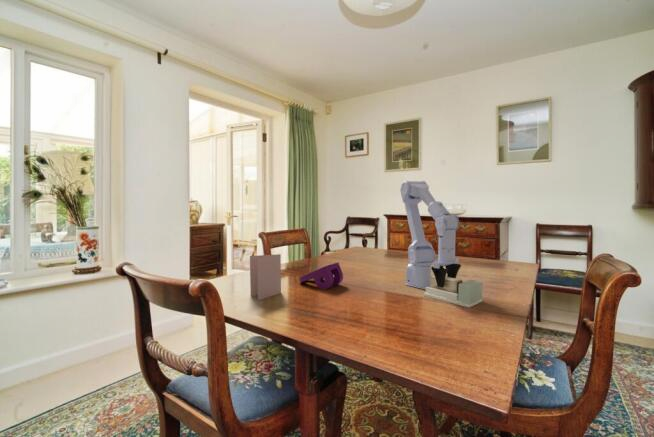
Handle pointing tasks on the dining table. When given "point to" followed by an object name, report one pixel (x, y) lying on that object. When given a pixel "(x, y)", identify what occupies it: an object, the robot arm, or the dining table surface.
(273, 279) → the greeting card
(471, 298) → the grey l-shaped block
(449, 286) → the beige and brown block
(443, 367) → the dining table surface
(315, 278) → the mounting bracket
